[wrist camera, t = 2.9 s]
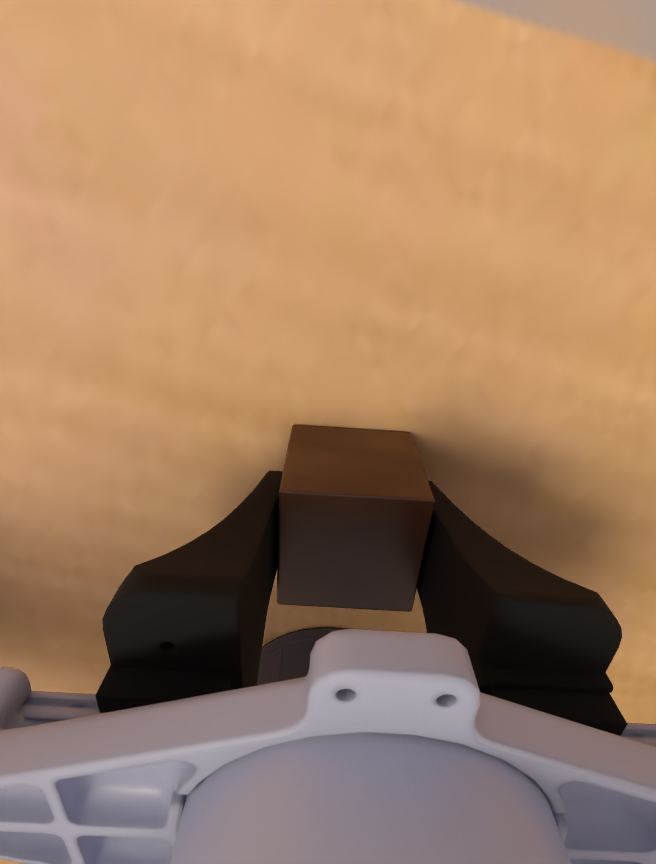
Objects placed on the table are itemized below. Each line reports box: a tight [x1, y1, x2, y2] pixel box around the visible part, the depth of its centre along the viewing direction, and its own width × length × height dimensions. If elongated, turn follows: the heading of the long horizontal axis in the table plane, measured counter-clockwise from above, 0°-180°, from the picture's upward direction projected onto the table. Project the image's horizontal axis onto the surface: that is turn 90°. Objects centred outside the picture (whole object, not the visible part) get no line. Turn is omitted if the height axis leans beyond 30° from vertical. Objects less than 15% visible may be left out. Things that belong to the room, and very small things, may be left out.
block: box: [277, 425, 435, 612], centre depth 14 cm, size 4×4×4 cm
